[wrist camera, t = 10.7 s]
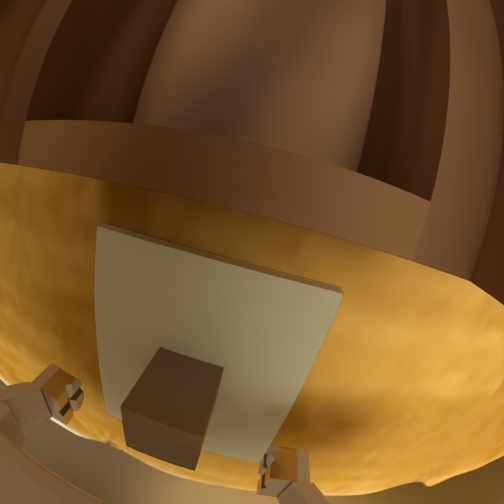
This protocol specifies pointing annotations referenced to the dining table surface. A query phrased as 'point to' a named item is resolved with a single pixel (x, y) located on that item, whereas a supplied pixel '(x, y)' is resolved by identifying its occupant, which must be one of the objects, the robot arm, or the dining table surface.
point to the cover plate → (201, 346)
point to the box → (277, 112)
